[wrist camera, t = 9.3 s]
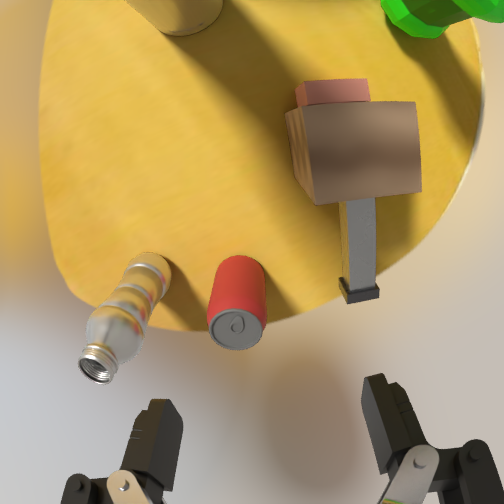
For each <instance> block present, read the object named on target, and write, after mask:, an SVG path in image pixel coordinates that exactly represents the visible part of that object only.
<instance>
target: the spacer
mask: <svg viewBox="0 0 504 504" xmlns="http://www.w3.org/2000/svg"><path fill="white" fill-rule="evenodd" d="M295 94H296V100H297V105H298V107H301V106H309V105H320V104H332V103H348V102H366V101H371V100H370V94H369V88H368V82H367V79H333V80H317V81H305V82H303V83H302V84H300V85H299V86H298V87H297V88H296V89H295Z"/></svg>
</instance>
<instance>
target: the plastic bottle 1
mask: <svg viewBox="0 0 504 504" xmlns="http://www.w3.org/2000/svg"><path fill="white" fill-rule="evenodd" d="M171 277H172V273H171V268H170V266H169V264H168V263H167V261H166V260H165V259H164V258H163V257H161V256H160V255H158V254H155V253H151V252H146V253H142V254H139V255H138V256H136V257H135V258H133V259H132V260H131V261H130V262H129V264H128V266H127V268H126V270H125V273H124V276H123V278H122V279H121V281H120V283H119V285H118V287H117V288H116V289H115V290H114V292H113V293H112V294H111V295H110V296H109V297H108V299H106V300H105V301H104V302H103V303H102V304H101V305H100V306H99V307H98V308H97V309H96V310H95V311H94V312H93V313H92V314H91V316H90V317H89V319H88V322H87V326H86V338H87V344H88V345H86V346H85V348H84V350H83V352H82V355H81V356H80V358H79V361H78V367H79V369H80V371H81V372H82V373H83V374H84V375H85V376H86V377H87V378H88V379H90V380H91V381H93V382H96V383H98V384H109V383H110V382H111V381H112V379H113V377H114V374H115V373H116V372H117V370H118V368H119V364H123V363H125V362H128V361H130V360H132V359H133V358H134V357H135V356H136V355H137V354H138V353H139V352H140V350H141V347H142V344H143V341H144V337H145V333H146V328H147V324H148V321H149V319H150V316H151V314H152V311H153V309H154V308H155V306H156V305H157V303H158V302H159V300H160V299H161V298H162V297H163V296H164V295H165V293H166V292H167V291H168V289H169V287H170V283H171Z"/></svg>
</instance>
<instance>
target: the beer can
mask: <svg viewBox="0 0 504 504" xmlns="http://www.w3.org/2000/svg"><path fill="white" fill-rule="evenodd" d="M266 321H267V307H266V291H265V275H264V272H263V269H262V267H261V266H260V264H259V263H258V262H257V261H255V260H254V259H252V258H250V257H247V256H240V255H237V256H233V257H229V258H227V259H226V260H224V261H223V262H222V263H221V264H220V265H219V267H218V269H217V272H216V275H215V279H214V284H213V288H212V292H211V297H210V301H209V305H208V310H207V324H208V326H209V333H210V335H211V338H212V339H213V340H214V341H215V342H216V343H217V344H218V345H220V346H222V347H224V348H227V349H230V350H244V349H248V348H250V347H252V346H254V345H255V344H256V343H258V342H259V340H260V338H261V337H262V332H263V330H264V328H265V326H266Z"/></svg>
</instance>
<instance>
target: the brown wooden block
mask: <svg viewBox="0 0 504 504" xmlns="http://www.w3.org/2000/svg"><path fill="white" fill-rule="evenodd" d="M284 114H285V119H286V125H287V131H288V137H289V143H290V149H291V156H292V162H293V169H294V176H295V179H296V180H297V181H298V183H299V184H300V185H301V187H302V188H303V189H304V191H305V192H306V193H307V195H308V196H309V197H310V199H311V200H312V201H313V203H314V204H315V205H323V204H330V203H337V202H344V201H352V200H359V199H367V198H375V197H383V196H391V195H400V194H408V193H417V192H422V182H421V156H420V141H419V130H418V120H417V111H416V104H415V102H399V101H379V102H348V103H332V104H320V105H309V106H301V107H298V108H296V109H293V110H291V111H289V112H286V113H284Z"/></svg>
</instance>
